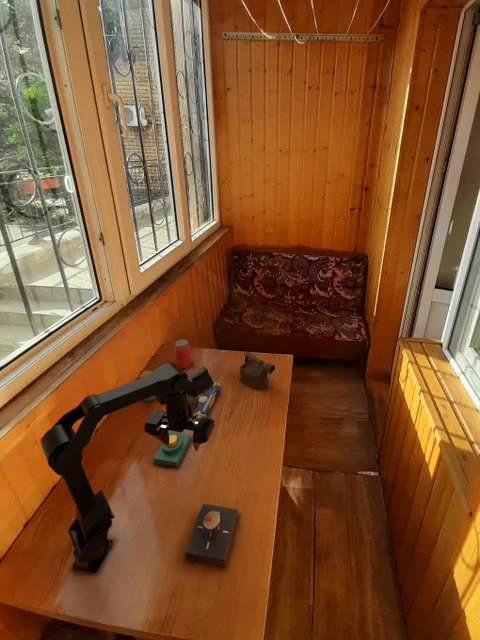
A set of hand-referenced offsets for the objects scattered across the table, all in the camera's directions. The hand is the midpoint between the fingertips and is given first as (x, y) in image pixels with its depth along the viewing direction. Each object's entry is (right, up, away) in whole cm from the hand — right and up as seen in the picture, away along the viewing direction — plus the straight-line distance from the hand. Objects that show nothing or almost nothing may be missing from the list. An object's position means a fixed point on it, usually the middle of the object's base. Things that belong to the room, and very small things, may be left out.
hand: (182, 447), depth 90 cm
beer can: (-17, +5, +53) cm, 56 cm away
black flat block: (+11, -18, -10) cm, 23 cm away
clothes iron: (+17, +1, +43) cm, 46 cm away
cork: (-25, -1, +35) cm, 43 cm away
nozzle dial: (+11, -15, -11) cm, 21 cm away
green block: (-7, -9, +13) cm, 17 cm away
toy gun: (-5, -2, +33) cm, 33 cm away
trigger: (-7, -6, +12) cm, 15 cm away
